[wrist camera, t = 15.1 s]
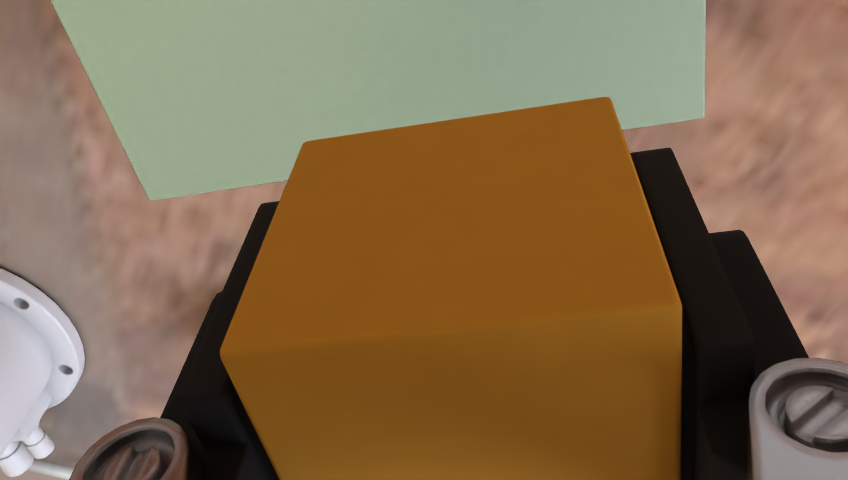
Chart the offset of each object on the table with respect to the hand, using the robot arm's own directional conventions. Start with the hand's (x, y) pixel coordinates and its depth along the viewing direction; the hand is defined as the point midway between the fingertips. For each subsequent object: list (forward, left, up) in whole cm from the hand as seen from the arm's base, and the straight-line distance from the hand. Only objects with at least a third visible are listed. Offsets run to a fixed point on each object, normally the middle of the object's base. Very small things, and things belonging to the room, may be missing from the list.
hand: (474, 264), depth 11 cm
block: (0, 0, -1) cm, 1 cm away
